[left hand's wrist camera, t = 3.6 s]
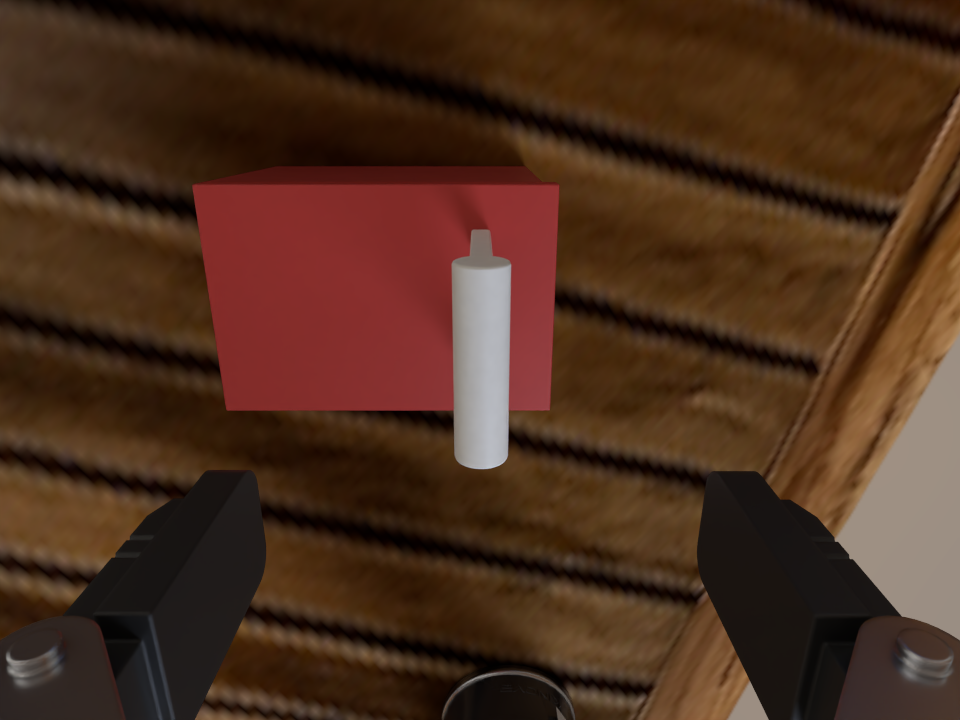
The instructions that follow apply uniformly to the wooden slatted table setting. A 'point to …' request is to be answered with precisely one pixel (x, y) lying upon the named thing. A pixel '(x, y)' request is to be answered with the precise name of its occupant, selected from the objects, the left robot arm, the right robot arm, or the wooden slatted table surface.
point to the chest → (386, 174)
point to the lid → (385, 298)
